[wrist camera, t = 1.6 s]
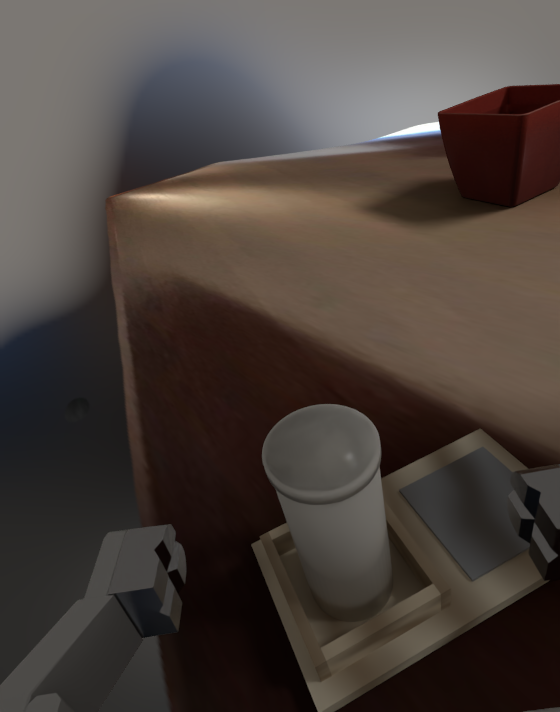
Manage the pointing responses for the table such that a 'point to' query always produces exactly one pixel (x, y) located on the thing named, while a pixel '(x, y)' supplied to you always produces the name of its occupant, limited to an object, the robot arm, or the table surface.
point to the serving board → (412, 572)
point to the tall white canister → (334, 506)
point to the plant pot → (505, 143)
